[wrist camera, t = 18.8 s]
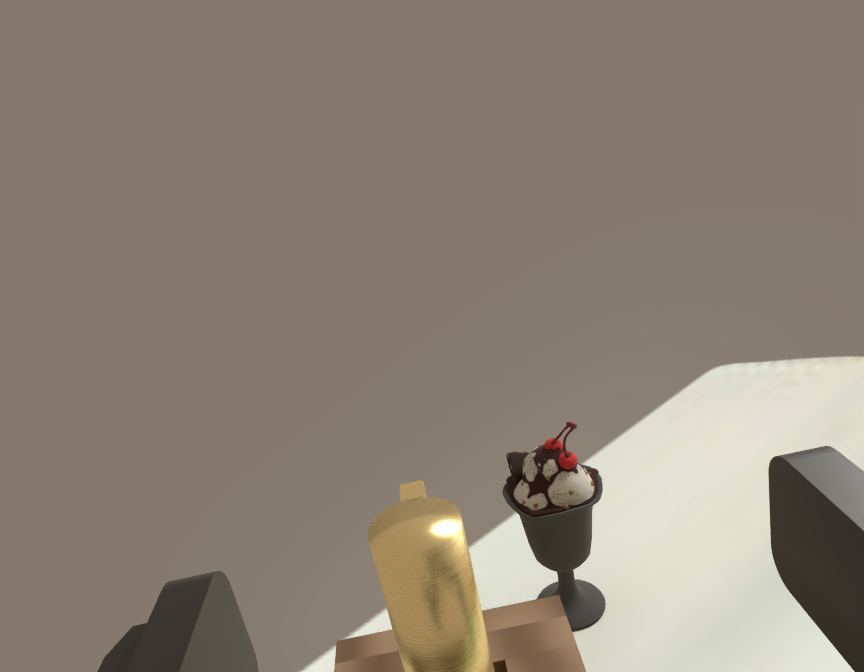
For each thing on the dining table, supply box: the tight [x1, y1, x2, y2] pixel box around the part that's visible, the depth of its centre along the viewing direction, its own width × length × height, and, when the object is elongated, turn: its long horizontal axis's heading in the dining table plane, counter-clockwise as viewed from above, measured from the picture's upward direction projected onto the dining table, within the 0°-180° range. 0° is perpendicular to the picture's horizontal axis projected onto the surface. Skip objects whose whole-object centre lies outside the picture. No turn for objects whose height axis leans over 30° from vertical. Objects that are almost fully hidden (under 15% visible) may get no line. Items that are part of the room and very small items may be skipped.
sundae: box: [503, 422, 605, 630], centre depth 47 cm, size 7×7×15 cm
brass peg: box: [368, 480, 495, 672], centre depth 36 cm, size 4×6×18 cm
